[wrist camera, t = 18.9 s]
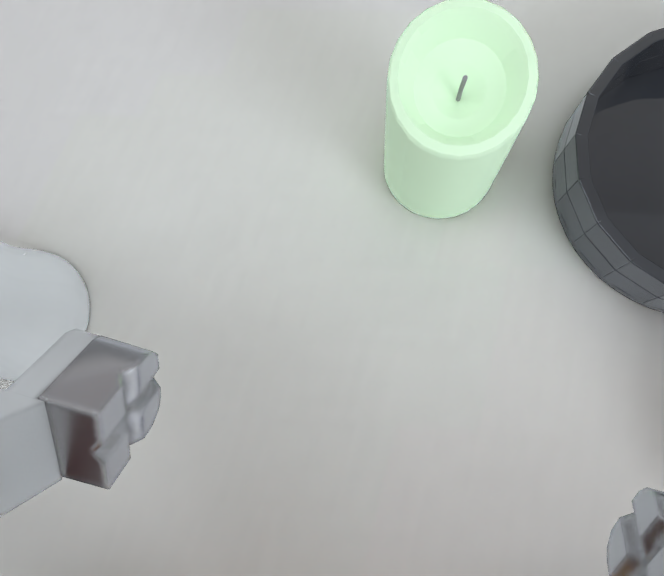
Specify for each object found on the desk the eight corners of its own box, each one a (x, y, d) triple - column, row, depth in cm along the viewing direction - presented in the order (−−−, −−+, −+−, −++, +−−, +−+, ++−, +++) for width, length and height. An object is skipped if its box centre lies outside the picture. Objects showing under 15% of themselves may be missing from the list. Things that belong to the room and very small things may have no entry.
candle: (494, 220, 26) (549, 137, 17) (383, 219, 26) (386, 138, 18) (492, 117, 26) (543, -6, 18) (384, 118, 27) (388, -3, 19)
